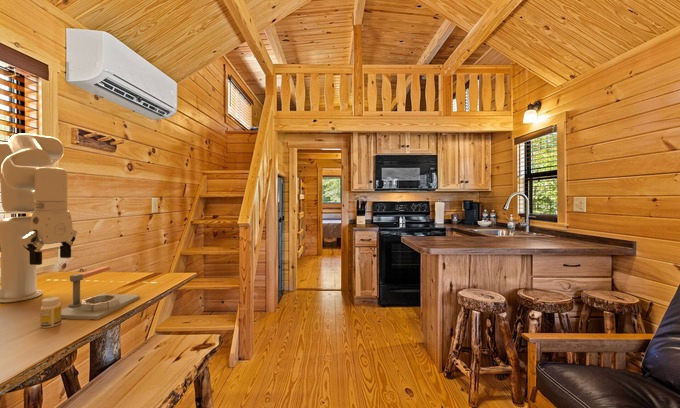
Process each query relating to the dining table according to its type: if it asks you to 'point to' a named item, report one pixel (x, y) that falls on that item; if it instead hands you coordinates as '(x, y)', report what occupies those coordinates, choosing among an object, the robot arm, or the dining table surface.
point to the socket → (99, 303)
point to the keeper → (88, 274)
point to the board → (75, 312)
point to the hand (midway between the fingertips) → (51, 260)
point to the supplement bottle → (50, 312)
